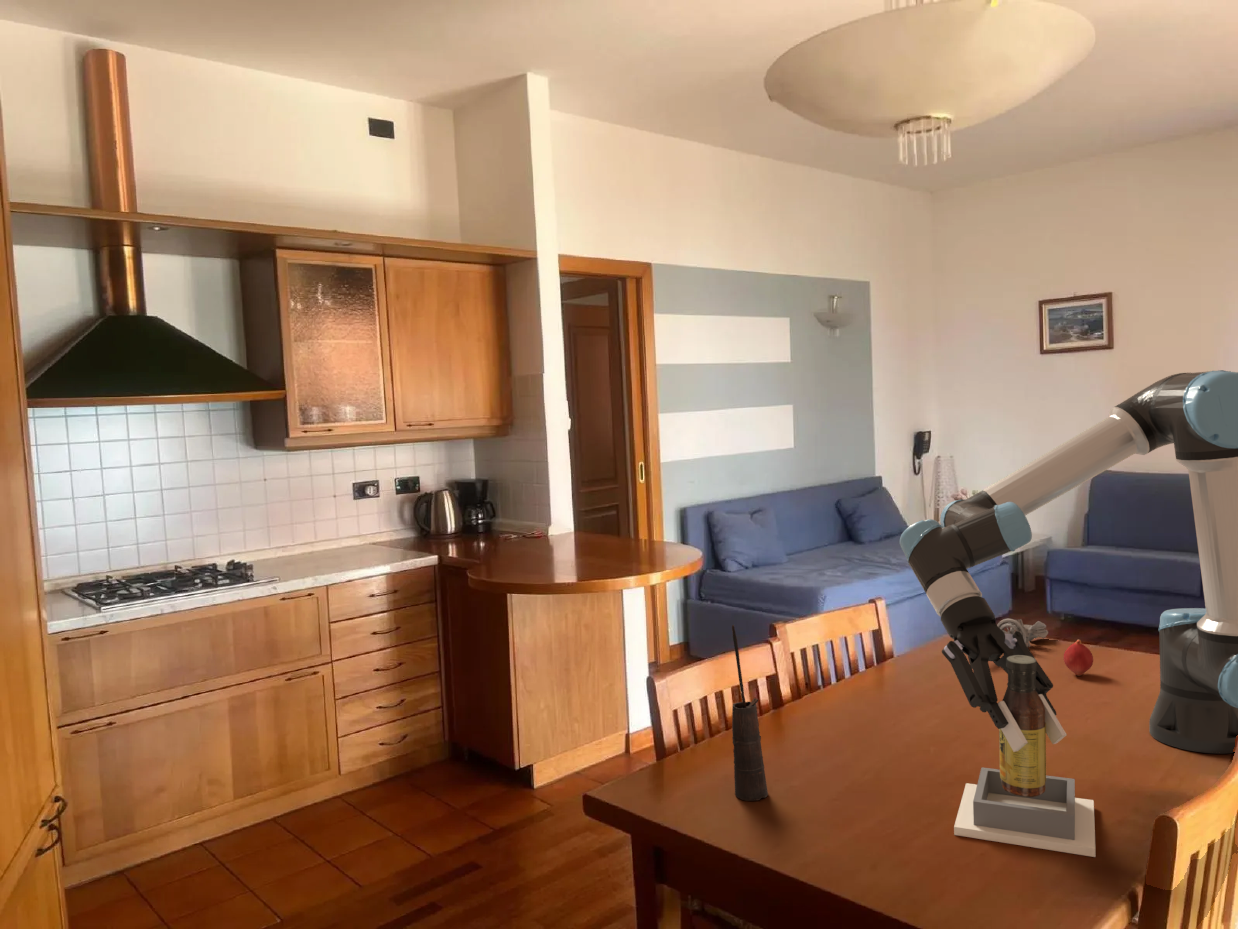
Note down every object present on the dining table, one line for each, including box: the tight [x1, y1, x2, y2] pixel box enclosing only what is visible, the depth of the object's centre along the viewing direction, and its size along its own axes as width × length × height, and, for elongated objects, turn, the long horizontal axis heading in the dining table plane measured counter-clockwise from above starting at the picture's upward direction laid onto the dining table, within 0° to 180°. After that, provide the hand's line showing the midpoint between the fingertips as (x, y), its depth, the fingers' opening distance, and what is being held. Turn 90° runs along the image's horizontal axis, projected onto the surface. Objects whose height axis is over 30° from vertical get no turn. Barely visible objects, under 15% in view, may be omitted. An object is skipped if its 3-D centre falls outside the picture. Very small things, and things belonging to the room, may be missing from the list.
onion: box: [1063, 639, 1094, 677], centre depth 200 cm, size 6×6×8 cm
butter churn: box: [731, 624, 769, 802], centre depth 149 cm, size 9×10×28 cm
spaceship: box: [996, 618, 1049, 648], centre depth 221 cm, size 8×35×8 cm
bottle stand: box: [953, 766, 1096, 858], centre depth 135 cm, size 18×16×5 cm
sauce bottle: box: [998, 655, 1047, 797], centre depth 134 cm, size 7×6×20 cm
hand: (1040, 743), depth 131 cm, fingers closed on sauce bottle, 6 cm apart
